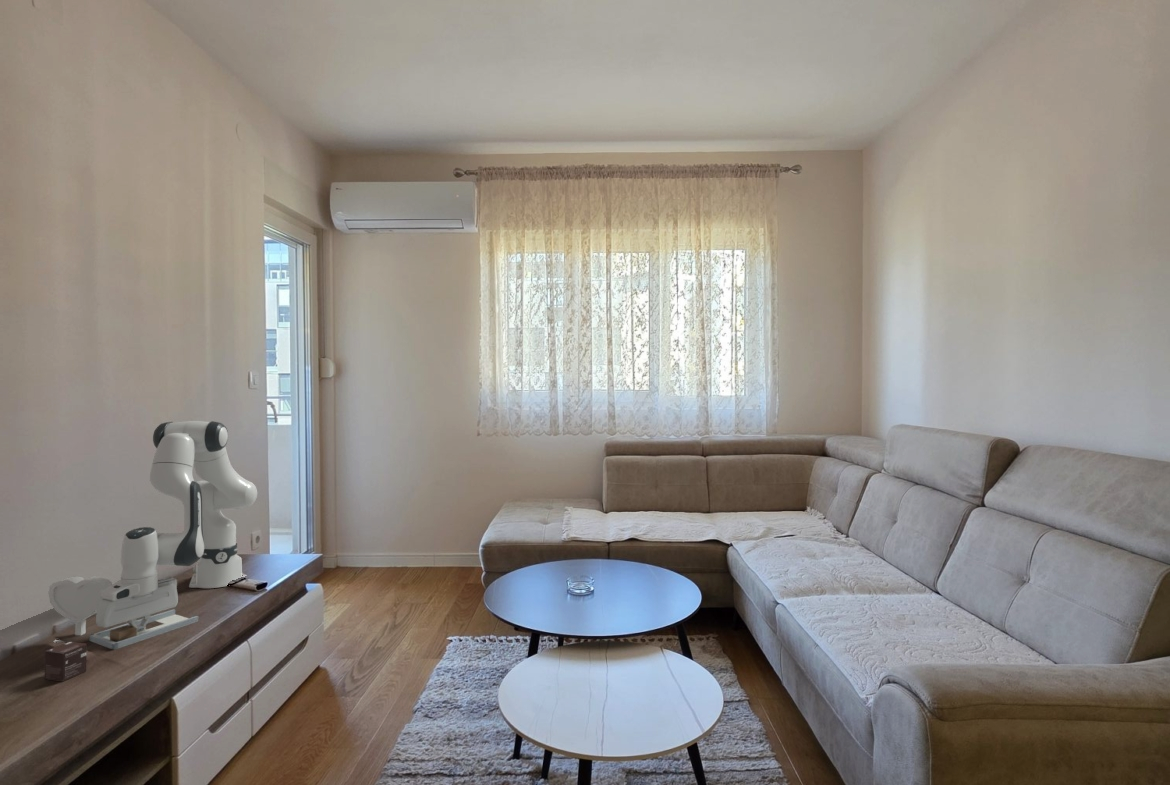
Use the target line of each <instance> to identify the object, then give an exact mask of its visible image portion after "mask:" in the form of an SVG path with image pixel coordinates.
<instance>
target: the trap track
mask: <svg viewBox="0 0 1170 785" xmlns="http://www.w3.org/2000/svg"><path fill="white" fill-rule="evenodd" d="M142 619H143V618H141V619H140V618H139V619H137V622H135V624H136V626H137V625H140V623H141V621H142ZM153 622H156V623H157V622H158V623H161V624H159V625H157V626H154V627H150V628H146V630H145V631H142V632H139V633H137V636H134V637H131V638H128V639H125V640H122V641H119V642H114V641H111V640H110V630H113V629H116V628H120V627H123V626H126V625H129V624H128V623H127V622H126V623H125V624H121V625H120V624H119V625H116V626H113V627H112V628H108V629H107V628H106V629H105V630H101V631H99V632H95V633H91V634H89V635H88V641H89V642H91V643H94V644H96V645H100V646H103V647H105V648H107V649H111V650H113V651H115V650H118V649H121V648H124V647H127V646H129V645H133V644H135V643H140V642H141V641H144V640H148V639H150V638H153V637H157V636H160V635H162V634H165V633H168V632H172V631H174V630H177V629H180V628H183V627H186V626H189V625H191V624H194V623H197V622H199V616H198V615H195V616H191V617H186V616H183V615H179V614H176V609H175V608H171V609H168V610H167V611H166V610H165V611H162V612H158V613H157V614H156V613H155V614H154V615H153V614H152V615H150V619H149V621H148V623H147V624H150V623H153Z"/></svg>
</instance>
